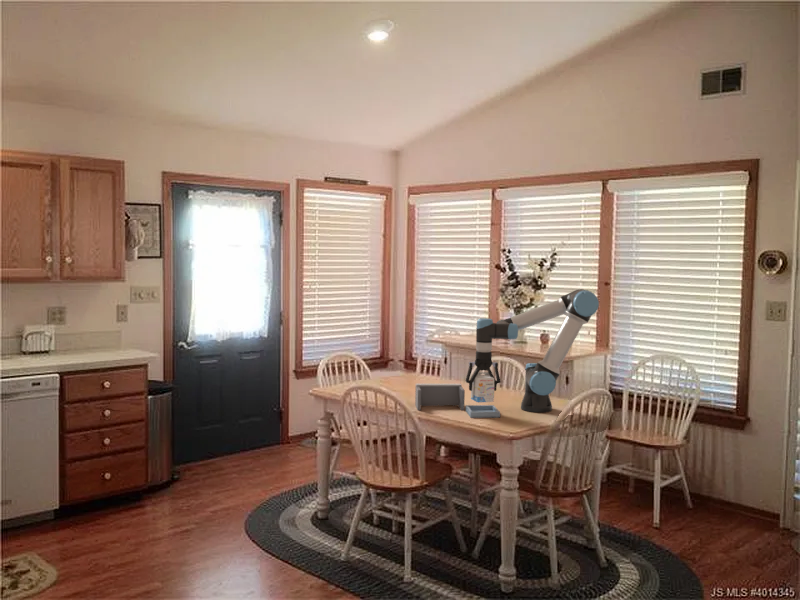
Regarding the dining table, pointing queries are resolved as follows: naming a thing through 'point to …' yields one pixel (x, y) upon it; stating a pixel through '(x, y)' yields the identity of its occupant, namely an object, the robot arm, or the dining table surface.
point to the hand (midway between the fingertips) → (482, 397)
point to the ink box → (483, 388)
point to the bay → (439, 395)
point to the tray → (482, 411)
